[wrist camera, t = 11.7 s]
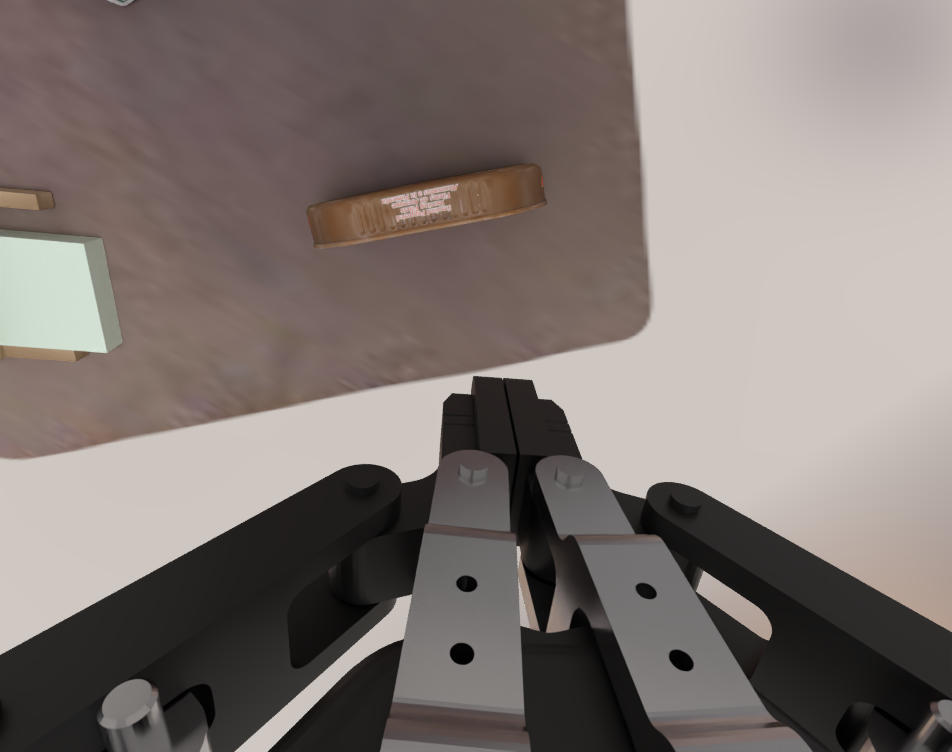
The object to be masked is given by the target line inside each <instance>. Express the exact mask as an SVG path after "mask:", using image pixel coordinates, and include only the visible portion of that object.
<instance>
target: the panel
mask: <svg viewBox="0 0 952 752" xmlns="http://www.w3.org/2000/svg"><path fill="white" fill-rule="evenodd" d="M122 343H123V342H122V337H121V331H120V326H119V321H118V316H117V311H116V306H115V301H114V296H113V291H112V286H111V281H110V276H109V271H108V266H107V261H106V256H105V251H104V246H103V241H102V238H96V237H84V236H73V235H61V234H50V233H39V232H27V231H16V230H4V229H0V345H5V346H19V347H33V348H46V349H60V350H74V351H88V352H102V353H108V352H109V351H111V350H112V349H114V348H116V347H117V346H119V345H120V344H122Z"/></svg>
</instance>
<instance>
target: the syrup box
mask: <svg viewBox="0 0 952 752" xmlns="http://www.w3.org/2000/svg"><path fill="white" fill-rule="evenodd" d="M107 1H110V2H112V3H115V4H117V5H120V6H126V5H128V4H129V3H131V2H132V1H134V0H107Z"/></svg>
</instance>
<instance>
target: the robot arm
mask: <svg viewBox="0 0 952 752" xmlns="http://www.w3.org/2000/svg"><path fill="white" fill-rule="evenodd" d="M517 546H520V550H521V557H520V563H519V568H517ZM703 571H705V572H707V573H708V574H710V575H711V576H713V577H714V578H716V579H717V580H719V581H720V582H722V583H723V584H725V585H726V586H728V587H729V588H731V589H732V590H734V591H735V592H737V593H738V594H740V595H741V596H743V597H744V598H746V599H747V600H749V601H750V602H752V603H753V604H755V605H756V606H757V607H759V608H760V609H761V610H762V611H763V612H764V613H765V614H766V616H767V617H768V619H769V621H770V623H771V626H772V635H771V638H770V640H769V641H768V640H765V639H763V638H761V637H759V636H758V635H757V634H755V633H754V632H752V631H751V630H749V629H748V628H747V627H745V626H744V625H742V624H741V623H739V622H738V621H737V620H735V619H734V618H732V617H731V616H730V615H728V614H727V613H725V612H724V611H722V610H721V609H720V608H718V607H717V606H715V605H714V604H712V603H711V602H710V601H708V600H707V599H706V598H704V597H702V596H701V595H700V594H698V593H697V592H696V590H697V587H698V584H699V581H700V579H701V576H702V573H703ZM518 578H519V582H520V587H521V591H522V595H523V599H524V603H525V607H526V612H527V616H528V620H529V624H530V628H531V629H530V628H526V627H522V626H520V612H519V589H518ZM411 594H412V598H411V604H410V609H409V614H408V621H407V625H406V631H405V636H404V639H403V640H400V641H397V642H394V643H392V644H389V645H387V646H385V647H383V648H381V649H379V650H377V651H376V652H374V653H372V654H371V655H369V656H368V657H366V658H365V659H363V660H362V661H361V662H360V663H358V664H357V665H356V666H354V667H353V668H352V669H351V670H350V671H348V672H347V674H345V675H344V676H343V677H342V678H341V679H340V680H339V681H338V682H337V683H336V684H335V685H334V686H333V687H332V688H331V689H330V690H329V691H328V692H327V693H326V694H325V695H324V696H323V697H322V698H321V699H320V700H319V701H318V702H317V703H316V704H315V705H314V706H313V707H312V708H311V709H310V710H309V711H308V712H307V713H306V714H305V715H304V716H303V717H302V718H301V719H300V720H299V721H298V722H297V723H296V724H295V725H294V726H293V727H292V728H291V729H290V730H289V731H288V732H287V733H286V734H285V735H284V736H283V737H282V738H281V739H280V740H279V741H278V742H277V743H276V744H275V745H274V746H273V747H272V748H271V749H270V750H269V751H268V752H952V632H950V631H949V630H947V629H945V628H943V627H941V626H940V625H938V624H936V623H934V622H933V621H931V620H929V619H927V618H925V617H924V616H922V615H920V614H918V613H917V612H915V611H913V610H911V609H909V608H908V607H906V606H904V605H902V604H901V603H899V602H897V601H895V600H893V599H892V598H890V597H888V596H886V595H884V594H883V593H881V592H879V591H877V590H875V589H874V588H872V587H870V586H868V585H867V584H865V583H863V582H861V581H860V580H858V579H856V578H854V577H853V576H851V575H849V574H847V573H845V572H844V571H842V570H840V569H838V568H837V567H835V566H833V565H831V564H830V563H828V562H826V561H824V560H822V559H821V558H819V557H817V556H815V555H814V554H812V553H810V552H808V551H806V550H805V549H803V548H801V547H799V546H797V545H796V544H794V543H792V542H790V541H789V540H787V539H785V538H783V537H781V536H780V535H778V534H776V533H775V532H773V531H771V530H769V529H767V528H766V527H764V526H762V525H760V524H758V523H757V522H755V521H753V520H751V519H750V518H748V517H746V516H744V515H742V514H741V513H739V512H737V511H735V510H734V509H732V508H730V507H728V506H727V505H725V504H723V503H721V502H719V501H718V500H716V499H714V498H712V497H711V496H709V495H707V494H705V493H703V492H702V491H700V490H698V489H696V488H693V487H691V486H687V485H684V484H680V483H674V482H662V483H657V484H655V485H653V486H652V487H650V488H649V490H648V492H647V495H646V499H643V498H639V497H636V496H631V495H628V494H624V493H621V492H617V491H614V490H612V489H610V487H609V486H608V484H607V482H606V480H605V478H604V476H603V475H602V473H601V472H600V471H599V470H598V469H597V468H596V467H595V466H594V465H592V464H590V463H589V462H587V461H584V460H582V457H581V455H580V452H579V449H578V447H577V444H576V442H575V439H574V437H573V434H572V433H571V429H570V426H569V424H568V421H567V419H566V416H565V414H564V411H563V410H562V409H561V408H560V407H559V406H558V405H556V404H555V403H554V402H553V401H552V400H544V399H538V397H537V394H536V390H535V387H534V385H533V381H532V380H523V379H509V378H503V380H502V378H494V377H479V376H474V377H473V382H472V390H471V395H468V394H455V393H452V394H451V395H450V396H449V397H448V398H447V399H446V400H445V401H444V403H443V415H442V428H441V441H440V453H439V466H438V469H437V470H436V471H435V472H434V473H432V474H431V475H429V476H427V477H425V478H423V479H420V480H417V481H412V482H406V483H401V481H400V478H399V477H398V476H397V475H396V474H395V473H394V472H393V471H391V470H389V469H387V468H385V467H382V466H378V465H372V464H360V465H353V466H348V467H345V468H342V469H340V470H338V471H336V472H334V473H333V474H331V475H329V476H327V477H325V478H323V479H322V480H320V481H318V482H316V483H314V484H312V485H311V486H309V487H307V488H305V489H303V490H302V491H300V492H298V493H296V494H294V495H292V496H290V497H289V498H287V499H285V500H283V501H281V502H280V503H278V504H276V505H274V506H272V507H271V508H268V509H267V510H265V511H263V512H261V513H259V514H258V515H256V516H254V517H252V518H250V519H248V520H247V521H245V522H243V523H241V524H239V525H237V526H236V527H234V528H232V529H230V530H229V531H227V532H225V533H223V534H221V535H219V536H217V537H216V538H214V539H212V540H210V541H208V542H207V543H205V544H203V545H201V546H199V547H197V548H195V549H193V550H192V551H190V552H188V553H186V554H184V555H182V556H181V557H179V558H177V559H175V560H173V561H172V562H170V563H168V564H166V565H164V566H163V567H161V568H159V569H157V570H155V571H153V572H151V573H150V574H148V575H146V576H144V577H142V578H140V579H139V580H137V581H135V582H133V583H131V584H129V585H128V586H126V587H124V588H122V589H120V590H118V591H117V592H115V593H113V594H111V595H109V596H107V597H106V598H104V599H102V600H100V601H98V602H96V603H95V604H93V605H91V606H89V607H87V608H85V609H84V610H82V611H80V612H78V613H76V614H75V615H73V616H71V617H69V618H67V619H65V620H63V621H62V622H60V623H58V624H56V625H54V626H53V627H51V628H49V629H47V630H45V631H43V632H42V633H40V634H38V635H36V636H34V637H33V638H31V639H29V640H27V641H25V642H23V643H22V644H20V645H18V646H16V647H14V648H12V649H10V650H9V651H7V652H5V653H3V654H1V655H0V752H234V751H235V750H237V749H238V748H239V747H240V746H241V745H242V744H243V743H244V742H246V741H247V740H248V739H249V738H250V737H251V736H252V735H253V734H254V733H256V732H257V731H258V730H259V729H260V728H261V727H262V726H263V725H265V724H266V723H267V722H268V721H269V720H270V719H271V718H272V717H273V716H275V715H276V714H277V713H278V712H279V711H280V710H281V709H282V708H284V707H285V706H286V705H287V704H288V703H289V702H290V701H291V700H293V699H294V698H295V697H296V696H297V695H298V694H299V693H300V692H301V691H303V690H304V689H305V688H306V687H307V686H308V685H309V684H310V683H312V682H313V681H314V680H315V679H316V678H317V677H318V676H319V675H320V674H322V673H323V672H324V671H325V670H326V669H327V668H328V667H329V666H331V665H332V664H333V663H334V662H335V661H336V660H337V659H338V658H340V657H341V656H342V655H343V654H344V653H345V652H346V651H347V650H348V649H350V647H352V646H353V645H354V644H355V643H356V642H357V641H358V640H360V638H362V637H363V636H364V635H365V634H366V633H367V632H369V630H371V629H372V628H373V627H374V626H375V625H376V624H378V623H379V622H380V621H381V620H382V619H383V618H384V617H385V616H386V615H387V614H389V612H390V611H391V610H392V609H393V607H394V605H395V603H396V599H397V598H399V597H403V596H407V595H411Z"/></svg>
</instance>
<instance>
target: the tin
mask: <svg viewBox="0 0 952 752" xmlns="http://www.w3.org/2000/svg"><path fill="white" fill-rule="evenodd" d="M546 204H547V200H546V199H545V195H544V187H543V177H542V172H541V168H540V167H539V166H538V165H536V164H520V165H514V166H508V167H503V168H497V169H492V170H487V171H482V172H476V173H470V174H465V175H459V176H453V177H447V178H442V179H436V180H430V181H425V182H420V183H414V184H409V185H404V186H399V187H394V188H390V189H385V190H380V191H376V192H371V193H366V194H361V195H356V196H351V197H346V198H341V199H336V200H332V201H328V202H323V203H318V204H314V205H311V206H309V207H308V208H307V211H306V212H307V218H308V221H309V225H310V229H311V232H312V235H313V239H314V248H318V249H324V248H333V247H342V246H348V245H355V244H360V243H366V242H372V241H377V240H383V239H388V238H393V237H399V236H404V235H409V234H415V233H420V232H425V231H431V230H436V229H442V228H447V227H453V226H458V225H463V224H468V223H474V222H480V221H485V220H491V219H496V218H501V217H505V216H509V215H514V214H519V213H522V212H526V211H530V210H534V209H537V208H540V207H542V206H544V205H546Z"/></svg>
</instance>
